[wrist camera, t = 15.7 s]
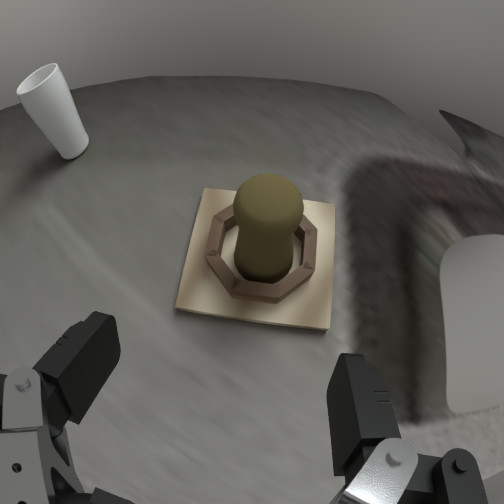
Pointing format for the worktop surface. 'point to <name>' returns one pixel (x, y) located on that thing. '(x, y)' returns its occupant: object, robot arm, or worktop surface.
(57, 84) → the drinking glass
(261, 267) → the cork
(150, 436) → the worktop surface
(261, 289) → the board
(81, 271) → the worktop surface
